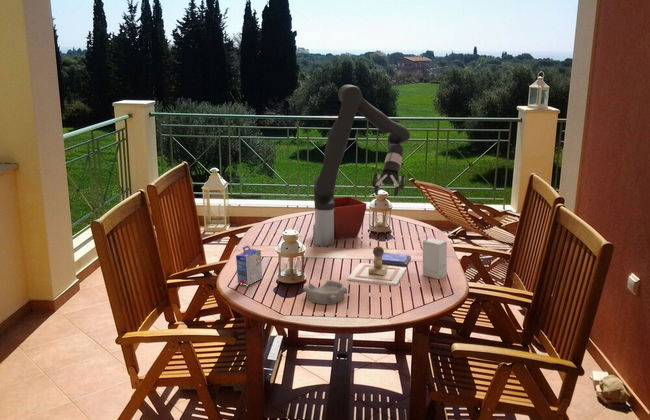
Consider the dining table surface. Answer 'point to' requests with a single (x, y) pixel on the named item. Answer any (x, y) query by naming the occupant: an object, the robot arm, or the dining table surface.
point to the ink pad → (395, 259)
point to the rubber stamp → (378, 263)
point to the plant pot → (348, 217)
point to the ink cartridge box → (249, 266)
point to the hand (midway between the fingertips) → (385, 194)
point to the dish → (326, 292)
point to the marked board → (389, 278)
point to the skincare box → (435, 258)
